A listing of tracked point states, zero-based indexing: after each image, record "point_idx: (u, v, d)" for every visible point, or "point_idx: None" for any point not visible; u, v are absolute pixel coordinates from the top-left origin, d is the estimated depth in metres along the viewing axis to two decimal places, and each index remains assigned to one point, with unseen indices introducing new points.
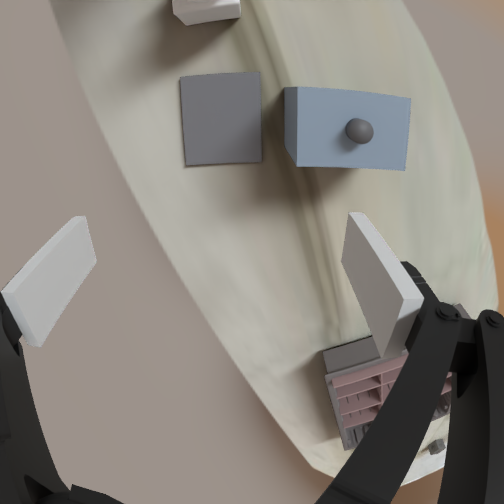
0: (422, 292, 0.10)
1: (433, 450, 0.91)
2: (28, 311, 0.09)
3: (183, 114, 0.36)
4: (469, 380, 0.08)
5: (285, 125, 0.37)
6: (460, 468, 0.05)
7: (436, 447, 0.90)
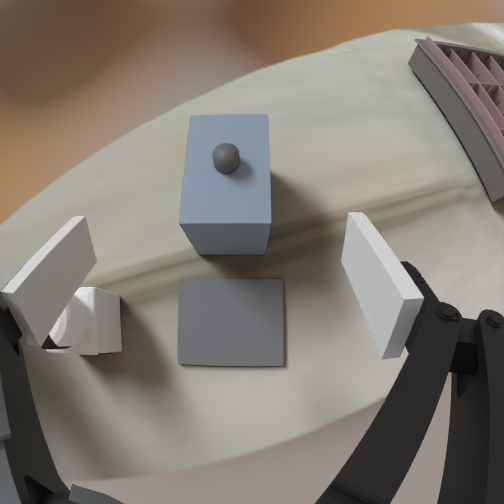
0: (422, 292, 0.10)
1: None
2: (28, 311, 0.09)
3: (222, 364, 0.34)
4: (469, 380, 0.08)
5: (239, 252, 0.36)
6: (460, 468, 0.05)
7: None
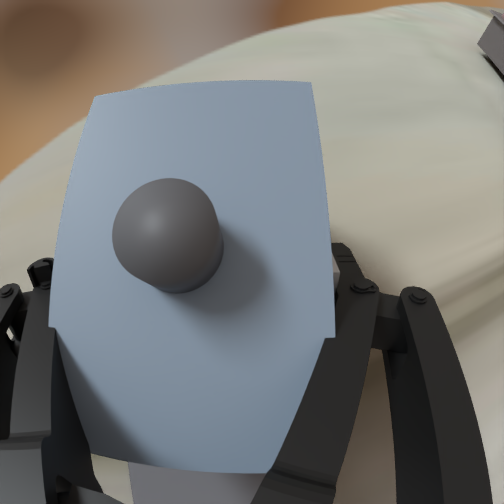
0: (348, 269, 0.11)
1: None
2: None
3: None
4: (403, 359, 0.09)
5: None
6: (410, 451, 0.06)
7: None
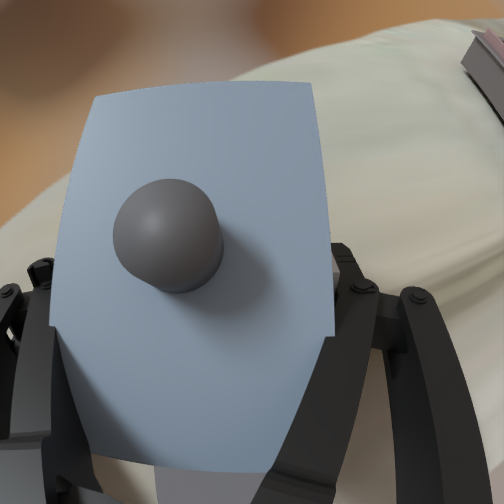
0: (348, 269, 0.11)
1: None
2: None
3: None
4: (403, 359, 0.09)
5: None
6: (410, 451, 0.06)
7: None
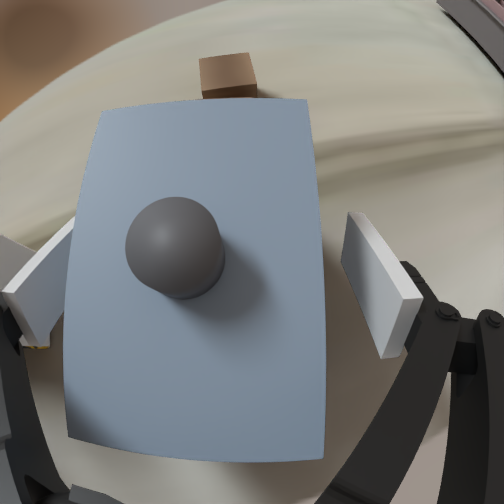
0: (421, 292, 0.10)
1: None
2: (29, 311, 0.09)
3: None
4: (468, 380, 0.08)
5: None
6: (460, 468, 0.05)
7: None
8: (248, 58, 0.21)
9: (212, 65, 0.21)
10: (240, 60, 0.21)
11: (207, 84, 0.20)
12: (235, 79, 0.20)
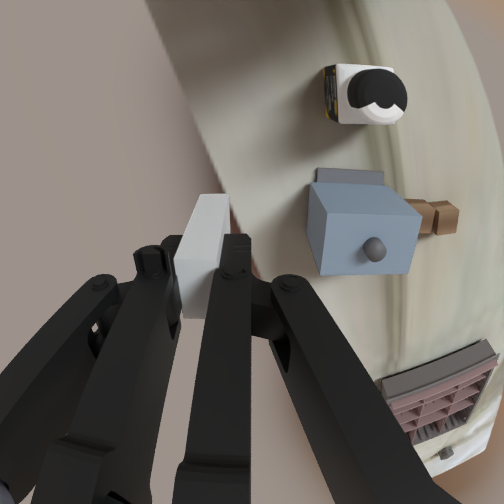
0: (238, 258, 0.12)
1: (443, 456, 0.99)
2: None
3: None
4: None
5: (308, 218, 0.44)
6: (322, 443, 0.06)
7: (446, 453, 0.99)
8: (452, 232, 0.42)
9: (452, 216, 0.41)
10: (451, 229, 0.42)
11: (442, 214, 0.41)
12: (441, 226, 0.42)
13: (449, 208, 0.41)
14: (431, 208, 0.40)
